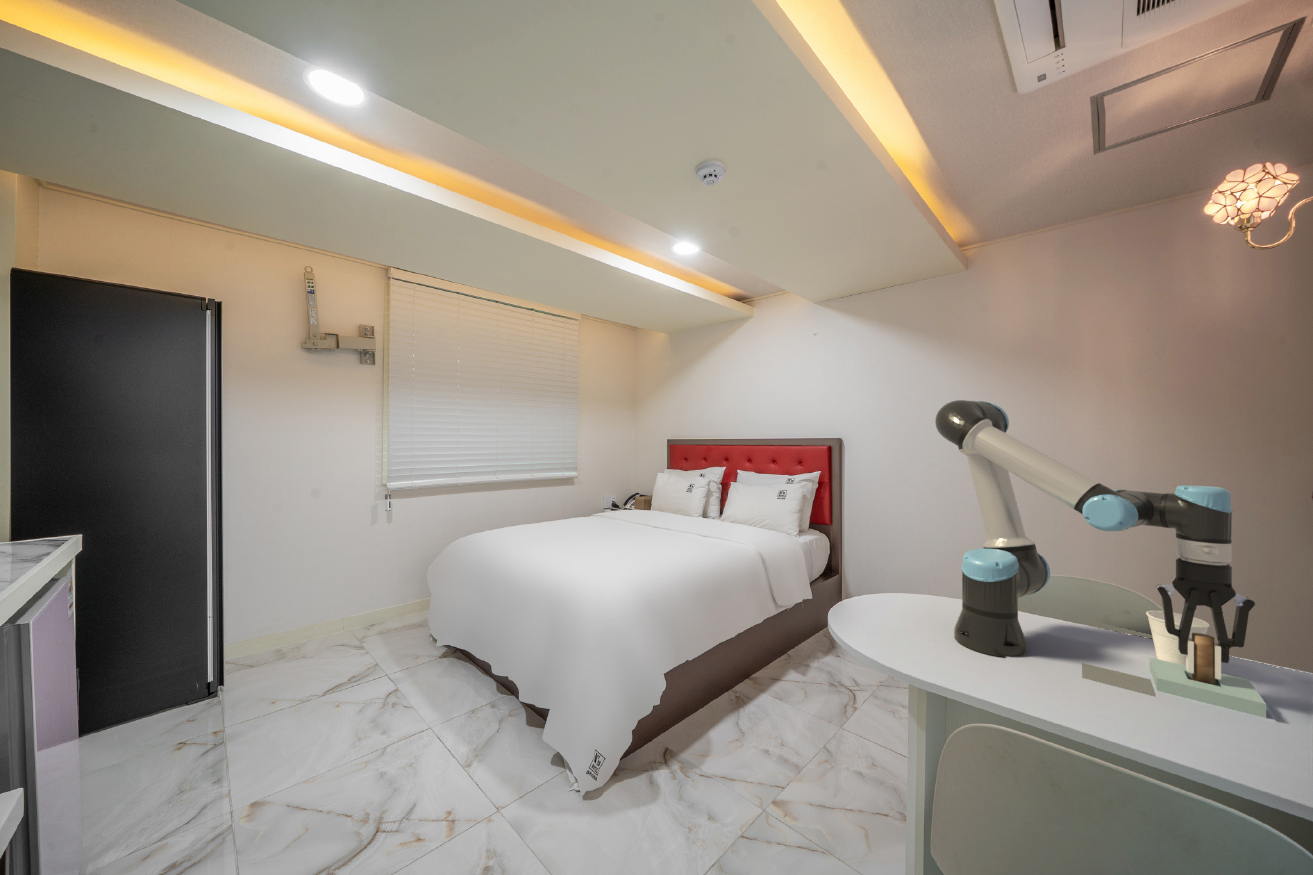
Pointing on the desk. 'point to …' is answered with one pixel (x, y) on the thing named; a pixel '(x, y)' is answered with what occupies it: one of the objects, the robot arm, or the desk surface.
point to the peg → (1203, 658)
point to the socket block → (1207, 688)
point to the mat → (1117, 679)
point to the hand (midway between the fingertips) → (1203, 673)
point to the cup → (1171, 636)
